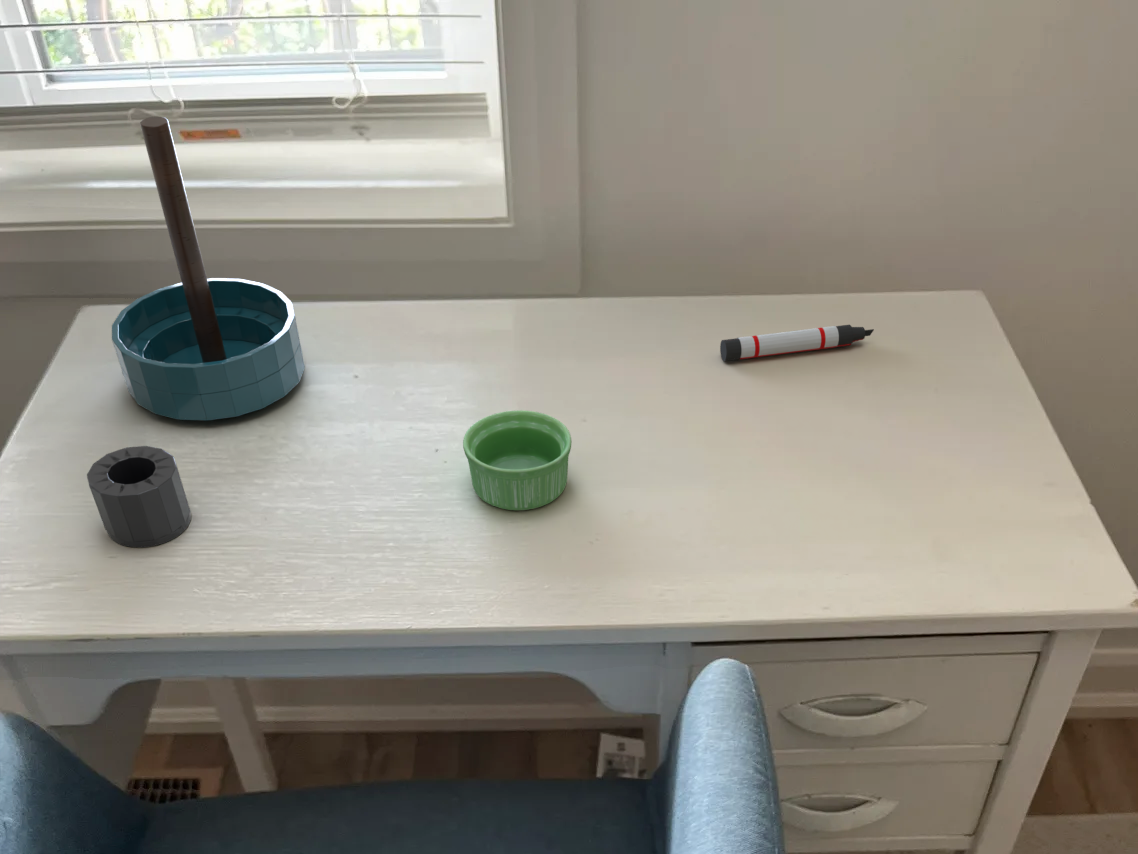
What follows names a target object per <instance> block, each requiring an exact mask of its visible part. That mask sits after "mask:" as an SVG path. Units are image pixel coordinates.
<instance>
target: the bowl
mask: <svg viewBox="0 0 1138 854" xmlns="http://www.w3.org/2000/svg"><path fill="white" fill-rule="evenodd" d="M207 281H208V285H209V289H210V293H211V297H212V301H213V305H214V309H215V313H216V317H217V321H218V325H219V329H220V333H221V337H222V341H223V345H224V349H225V354H226V358H227V359H225V360H222V361H214V362H207V363H203V361H202V357H201V354H200V350H199V346H198V342H197V338H196V335H195V331H194V327H193V323H192V319H191V316H190V312H189V308H188V304H187V300H186V297H185V293H184V289H183V285H182V282H178V283H174V284H171V285H167V286H163V287H160V288H158V289H155V290H153V291H150V292H148V293H146V294H144V295H142V296H140V297H138V298H135V300H134V301H132V302H131V303H129V304H128V305H126V306H125V307H124V308H123V309H122V310H121V311H120V312H119V313H118V314H117V317H116V318H115V320H114V321H113V323H112V324H111V341H112V344H113V348H114V350H115V354H116V357H117V360H118V363H119V366H120V369H121V372H122V376H123V378H124V381H125V385H126V388H127V391H128V393H129V394H130V395H131V397H132V398H133V400H134V401H135V402H136V404H137V405H138V406H140V407H142V408H143V409H145V410H147V411H149V412H151V413H152V414H154V415H158V416H162V417H166V418H167V417H168V418H169V419H174V420H179V421H180V420H181V421H182V420H183V421H214V420H221V419H222V420H223V419H229V418H235V417H241V416H243V415H246V414H251V413H252V412H256V411H258V410H262V409H264V408H266V407H267V406H270V405H272V404H274V403H275V402H277V401H279V400H281V399H283V398H285V397H286V396H287V395H288V394H289V393H290V392H291V391H292V390H293V389H294V388H295V387H297V385H298V384H300V381H301V379H302V377H303V374H304V372H305V368H306V365H305V361H304V355H303V350H302V345H301V339H300V335H299V330H298V325H297V324H298V323H297V320H296V319H297V318H296V314H295V308H294V304H293V302H292V301H291V300H290V299H289V298H288V297H287V296H286V295H285V294H284V293H283V292H282V291H281V290H279V289H276V288H274V287H273V286H270V285H268V284H265V283H263V282H260V281H259V282H258V281H253V280H249V279H243V278H229V277H227V278H226V277H211V278H207Z"/></svg>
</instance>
